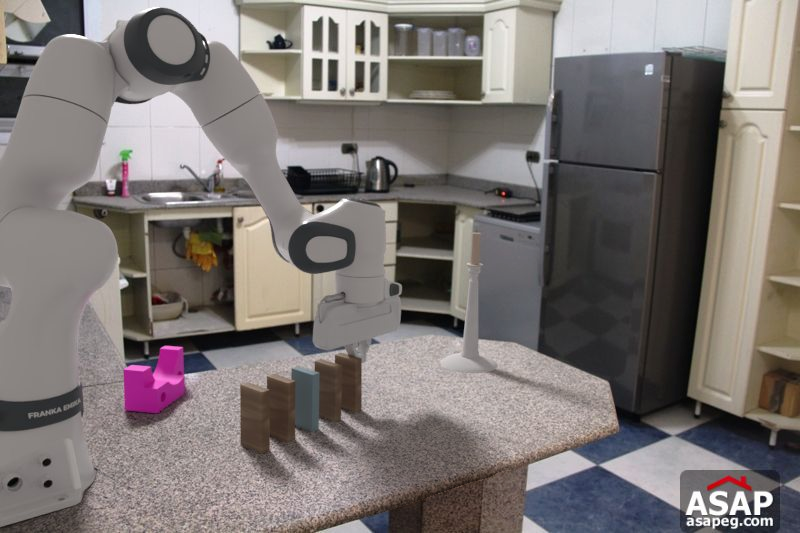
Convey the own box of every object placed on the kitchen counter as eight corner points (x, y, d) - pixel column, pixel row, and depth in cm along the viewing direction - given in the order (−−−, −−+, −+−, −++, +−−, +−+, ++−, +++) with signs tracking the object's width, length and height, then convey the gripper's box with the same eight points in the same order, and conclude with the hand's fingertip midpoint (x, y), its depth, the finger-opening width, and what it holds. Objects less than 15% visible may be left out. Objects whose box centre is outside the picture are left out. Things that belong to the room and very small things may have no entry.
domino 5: (355, 413, 129) (355, 360, 127) (335, 406, 132) (334, 354, 130) (361, 411, 131) (361, 358, 129) (341, 404, 134) (340, 352, 132)
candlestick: (494, 379, 150) (503, 236, 145) (434, 372, 153) (440, 232, 148) (502, 362, 162) (510, 229, 157) (446, 355, 166) (452, 225, 160)
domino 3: (297, 421, 125) (298, 366, 123) (318, 429, 122) (319, 372, 120) (291, 424, 124) (291, 368, 122) (311, 432, 121) (312, 375, 119)
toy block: (157, 413, 127) (156, 372, 126) (124, 410, 128) (123, 369, 127) (195, 385, 141) (195, 348, 140) (166, 382, 142) (165, 345, 141)
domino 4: (334, 422, 125) (335, 367, 123) (313, 415, 128) (314, 361, 126) (340, 420, 126) (342, 365, 125) (320, 412, 129) (321, 359, 128)
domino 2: (287, 442, 117) (288, 383, 115) (266, 433, 120) (266, 376, 118) (295, 439, 118) (295, 380, 116) (274, 431, 121) (274, 373, 119)
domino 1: (261, 453, 112) (261, 392, 110) (240, 444, 115) (240, 384, 113) (269, 450, 114) (269, 389, 112) (248, 441, 117) (248, 382, 115)
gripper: (332, 300, 119) (330, 381, 122) (407, 284, 135) (404, 355, 137) (305, 294, 123) (303, 372, 125) (381, 279, 139) (379, 348, 141)
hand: (357, 363), depth 132 cm, fingers closed
